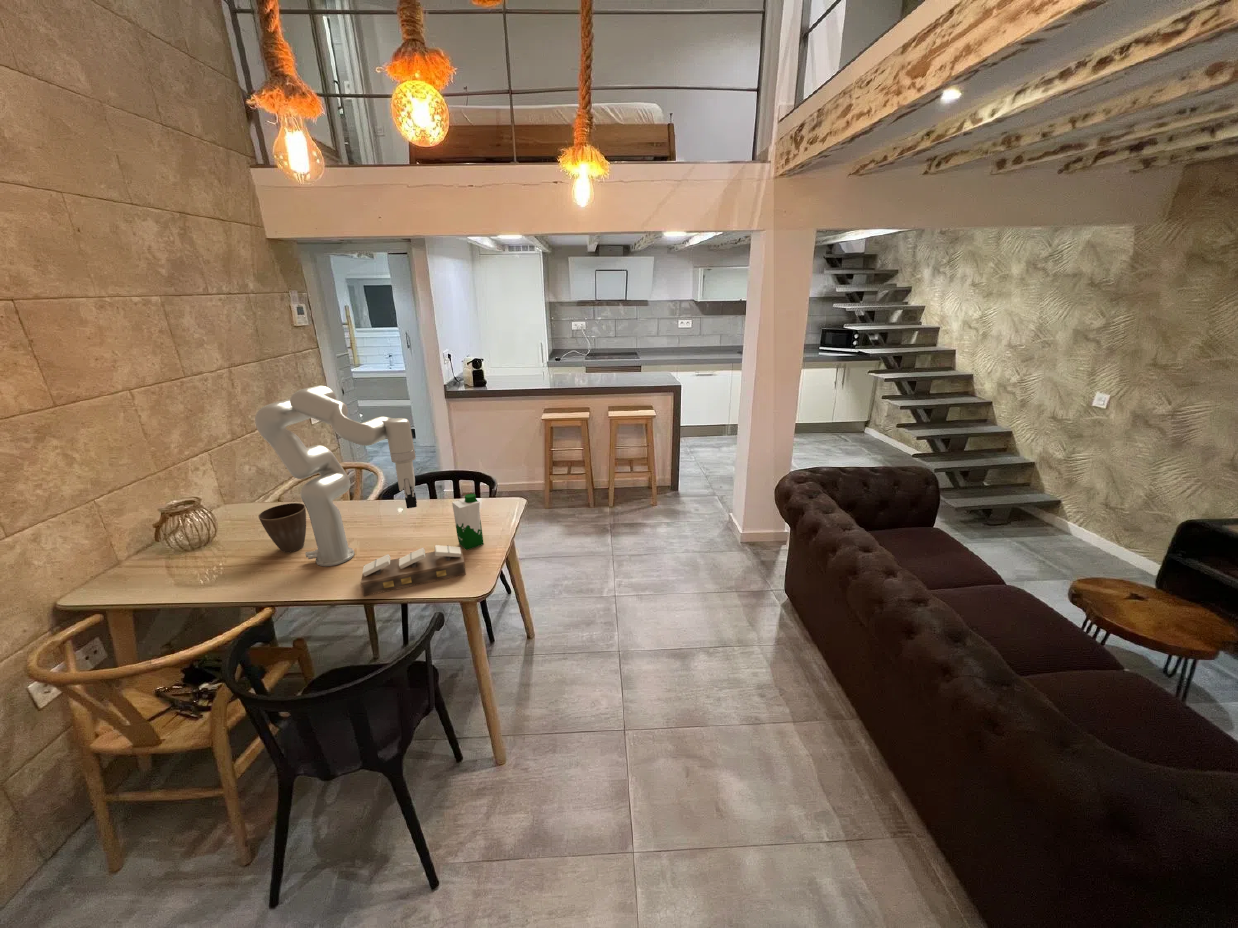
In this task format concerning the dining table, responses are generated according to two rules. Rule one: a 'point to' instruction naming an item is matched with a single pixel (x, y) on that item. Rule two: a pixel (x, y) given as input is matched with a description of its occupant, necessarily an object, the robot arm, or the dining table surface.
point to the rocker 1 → (376, 565)
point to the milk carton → (468, 522)
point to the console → (413, 573)
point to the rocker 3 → (447, 551)
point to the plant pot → (286, 525)
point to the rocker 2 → (411, 558)
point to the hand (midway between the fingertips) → (411, 505)
